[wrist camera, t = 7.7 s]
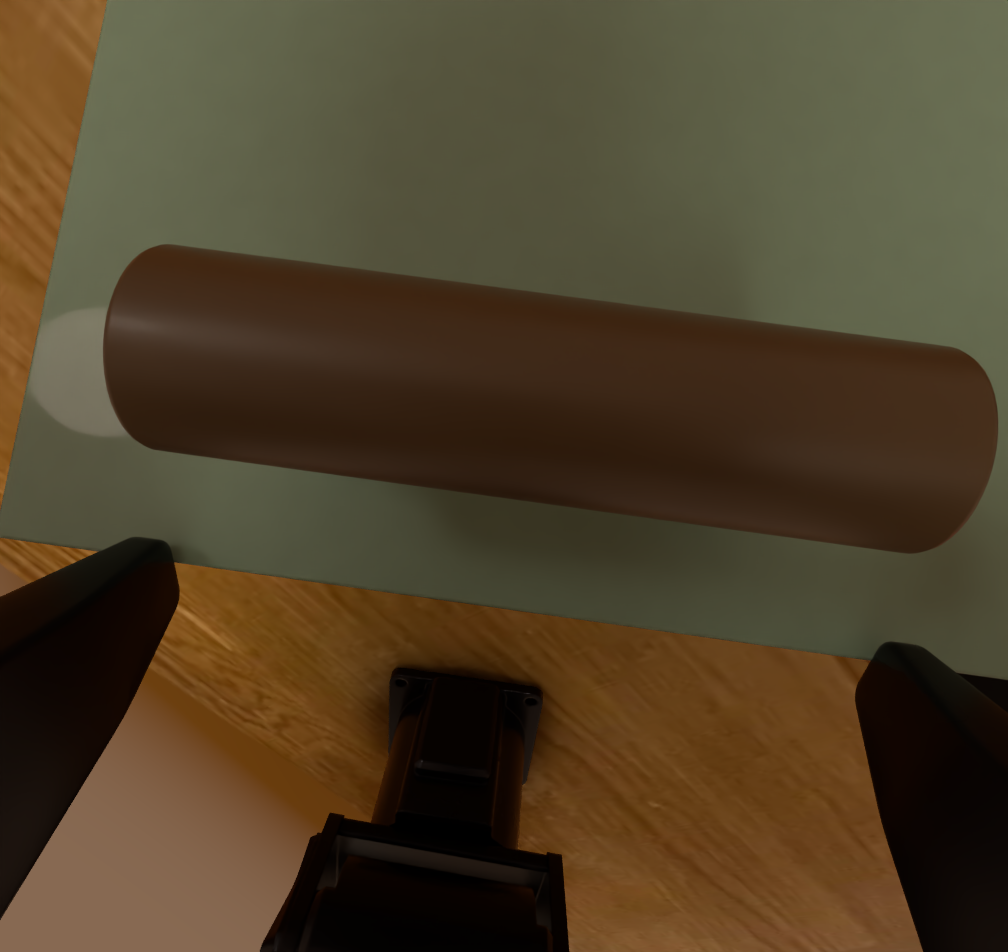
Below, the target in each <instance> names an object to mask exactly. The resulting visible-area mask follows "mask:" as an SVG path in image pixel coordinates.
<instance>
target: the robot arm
mask: <svg viewBox="0 0 1008 952" xmlns="http://www.w3.org/2000/svg"><path fill="white" fill-rule="evenodd" d="M179 594H180V590H179V584H178V579H177V574H176V569H175V565H174V560H173V555H172V551H171V548H170V546H169V544H168V543H167V542H166V541H163V540H160V539H153V538H146V537H130V538H128V539H125V540H123V541H121V542H119V543H117V544H114V545H112V546H110V547H108V548H106V549H104V550H101V551H99V552H97V553H95V554H93V555H91V556H88V557H86V558H84V559H82V560H80V561H77V562H75V563H73V564H71V565H69V566H67V567H64V568H62V569H60V570H58V571H56V572H53V573H51V574H49V575H47V576H45V577H43V578H40V579H38V580H36V581H34V582H32V583H30V584H27V585H25V586H23V587H21V588H19V589H16V590H14V591H12V592H10V593H8V594H6V595H3V596H1V597H0V920H1V918H2V916H3V914H4V913H5V911H6V910H7V908H8V906H9V905H10V903H11V902H12V900H13V898H14V897H15V895H16V893H17V892H18V890H19V888H20V887H21V885H22V883H23V882H24V880H25V879H26V877H27V875H28V874H29V872H30V870H31V869H32V867H33V866H34V864H35V862H36V861H37V859H38V857H39V856H40V854H41V852H42V851H43V849H44V848H45V846H46V844H47V843H48V841H49V839H50V838H51V836H52V834H53V833H54V831H55V829H56V828H57V826H58V825H59V823H60V821H61V820H62V818H63V816H64V815H65V813H66V812H67V810H68V808H69V807H70V805H71V803H72V802H73V800H74V798H75V797H76V795H77V794H78V792H79V790H80V789H81V787H82V785H83V784H84V782H85V780H86V779H87V777H88V776H89V774H90V772H91V771H92V769H93V767H94V766H95V764H96V762H97V761H98V759H99V757H100V756H101V754H102V753H103V751H104V749H105V748H106V746H107V744H108V743H109V741H110V740H111V738H112V736H113V735H114V733H115V731H116V729H117V728H118V726H119V724H120V723H121V721H122V719H123V717H124V715H125V714H126V712H127V710H128V708H129V706H130V704H131V702H132V700H133V698H134V696H135V694H136V692H137V690H138V688H139V686H140V684H141V682H142V679H143V677H144V675H145V673H146V671H147V669H148V667H149V665H150V663H151V660H152V658H153V656H154V654H155V652H156V650H157V648H158V646H159V644H160V641H161V639H162V637H163V635H164V633H165V631H166V629H167V627H168V625H169V623H170V620H171V618H172V616H173V614H174V612H175V610H176V607H177V605H178V601H179ZM401 679H402V680H401ZM855 702H856V708H857V713H858V718H859V722H860V727H861V732H862V736H863V741H864V746H865V750H866V755H867V759H868V764H869V769H870V773H871V778H872V783H873V787H874V792H875V797H876V801H877V806H878V810H879V814H880V818H881V822H882V825H883V829H884V832H885V835H886V839H887V842H888V845H889V848H890V851H891V854H892V857H893V861H894V864H895V867H896V870H897V873H898V876H899V879H900V882H901V885H902V888H903V891H904V894H905V897H906V900H907V903H908V907H909V910H910V913H911V916H912V919H913V922H914V925H915V928H916V931H917V934H918V937H919V940H920V943H921V946H922V949H923V952H1008V713H1007V712H1006V711H1005V710H1003V709H1002V708H1001V707H1000V706H998V705H997V704H996V703H994V702H993V701H992V700H991V699H989V698H988V697H987V696H986V695H984V694H983V693H982V692H980V691H979V690H978V689H977V688H975V687H974V686H973V685H971V684H970V683H969V682H968V681H966V680H965V679H964V678H962V677H961V676H960V675H959V674H957V673H956V672H955V671H954V670H952V669H951V668H950V667H948V666H947V665H946V664H945V663H943V662H942V661H941V660H939V659H938V658H937V657H936V656H934V655H933V654H932V653H931V652H929V651H928V650H927V649H925V648H924V647H922V646H919V645H915V644H909V643H902V642H894V641H888V642H885V643H883V644H882V645H880V646H879V648H878V649H877V651H876V653H875V654H874V656H873V658H872V660H871V661H870V663H869V665H868V667H867V668H866V670H865V672H864V674H863V675H862V677H861V679H860V681H859V682H858V685H857V688H856V693H855ZM542 704H543V693H542V691H541V690H540V689H538V688H536V687H532V686H525V685H518V684H512V683H505V682H498V681H491V680H484V679H477V678H470V677H463V676H456V675H449V674H442V673H435V672H428V671H421V670H414V669H407V668H397V669H395V670H394V671H393V672H392V675H391V678H390V683H389V748H388V760H387V764H386V768H385V771H384V775H383V779H382V783H381V786H380V790H379V794H378V798H377V801H376V805H375V809H374V813H373V816H372V820H371V823H369V822H364V821H358V820H353V819H347V818H344V815H340V814H335V813H330V814H329V816H328V818H327V821H326V823H325V826H324V829H323V831H322V833H317V835H315V836H312V837H311V838H310V840H309V843H308V846H307V849H306V852H305V855H304V858H303V861H302V864H301V867H300V870H299V872H298V875H297V878H296V880H295V882H294V885H293V887H292V889H291V891H290V893H289V895H288V897H287V898H286V900H285V902H284V904H283V906H282V908H281V910H280V912H279V913H278V915H277V917H276V919H275V921H274V923H273V924H272V926H271V929H270V930H269V932H268V934H267V936H266V938H265V940H264V941H263V943H262V947H261V949H260V952H569V942H568V929H567V916H566V903H565V889H564V876H563V863H562V855H561V854H555V853H550V852H547V854H546V855H545V854H540V853H534V852H529V851H523V850H518V836H519V822H520V808H521V794H522V785H523V784H525V783H526V781H527V776H528V771H529V766H530V762H531V757H532V752H533V747H534V742H535V738H536V733H537V728H538V723H539V718H540V714H541V709H542Z"/></svg>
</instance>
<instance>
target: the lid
mask: <svg viewBox="0 0 1008 952" xmlns="http://www.w3.org/2000/svg"><path fill="white" fill-rule="evenodd" d="M130 537H146V538H153V539H160V540H163V541H166V542H167V543H168V544H169V546H170V548H171V551H172V555H173V560H174V562H177V563H184V564H191V565H198V566H205V567H212V568H219V569H226V570H234V571H241V572H248V573H255V574H262V575H269V576H276V577H283V578H290V579H297V580H304V581H311V582H318V583H326V584H333V585H340V586H347V587H354V588H361V589H368V590H375V591H382V592H389V593H396V594H403V595H410V596H417V597H425V598H432V599H439V600H446V601H453V602H460V603H467V604H474V605H481V606H488V607H495V608H502V609H509V610H517V611H524V612H531V613H538V614H545V615H552V616H559V617H566V618H573V619H580V620H587V621H594V622H601V623H608V624H616V625H623V626H630V627H637V628H644V629H651V630H658V631H665V632H672V633H679V634H686V635H693V636H700V637H708V638H715V639H722V640H729V641H736V642H743V643H750V644H757V645H764V646H771V647H778V648H785V649H792V650H799V651H807V652H814V653H821V654H828V655H835V656H842V657H849V658H856V659H863V660H870V661H871V660H872V658H873V656H874V654H875V653H876V651H877V649H878V648H879V646H880V645H882V644H883V643H885V642H888V641H894V642H902V643H909V644H915V645H919V646H922V647H924V648H925V649H927V650H928V651H929V652H931V653H932V654H933V655H934V656H936V657H937V658H938V659H939V660H941V661H942V662H943V663H945V664H946V665H947V666H948V667H950V668H951V669H952V670H954V671H955V672H956V673H962V674H969V675H976V676H983V677H991V678H998V679H1005V680H1008V0H107V4H106V9H105V14H104V19H103V24H102V28H101V33H100V38H99V43H98V47H97V52H96V57H95V62H94V66H93V71H92V76H91V81H90V85H89V90H88V95H87V100H86V105H85V109H84V114H83V119H82V124H81V128H80V133H79V138H78V143H77V147H76V152H75V157H74V162H73V167H72V171H71V176H70V181H69V186H68V190H67V195H66V200H65V205H64V209H63V214H62V219H61V224H60V229H59V233H58V238H57V243H56V248H55V252H54V257H53V262H52V267H51V271H50V276H49V281H48V286H47V290H46V295H45V300H44V305H43V310H42V314H41V319H40V324H39V329H38V333H37V338H36V343H35V348H34V352H33V357H32V362H31V367H30V372H29V376H28V381H27V386H26V391H25V395H24V400H23V405H22V410H21V414H20V419H19V424H18V429H17V433H16V438H15V443H14V448H13V453H12V457H11V462H10V467H9V472H8V476H7V481H6V486H5V491H4V495H3V500H2V505H1V510H0V538H7V539H14V540H21V541H28V542H35V543H43V544H50V545H57V546H64V547H71V548H78V549H85V550H92V551H101V550H104V549H106V548H108V547H110V546H112V545H114V544H117V543H119V542H121V541H123V540H125V539H128V538H130Z"/></svg>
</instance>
